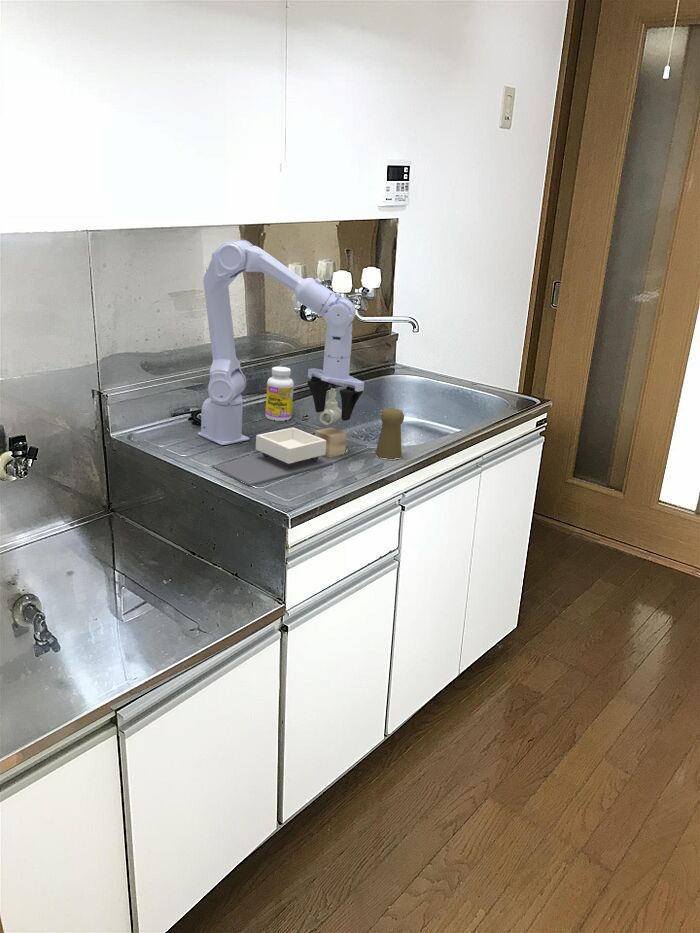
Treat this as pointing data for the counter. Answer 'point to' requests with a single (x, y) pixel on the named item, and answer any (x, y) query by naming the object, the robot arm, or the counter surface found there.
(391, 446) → the cork
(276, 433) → the white square tray
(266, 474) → the flat gray panel
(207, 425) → the robot arm
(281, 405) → the supplement bottle
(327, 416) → the valve
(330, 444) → the wooden block
